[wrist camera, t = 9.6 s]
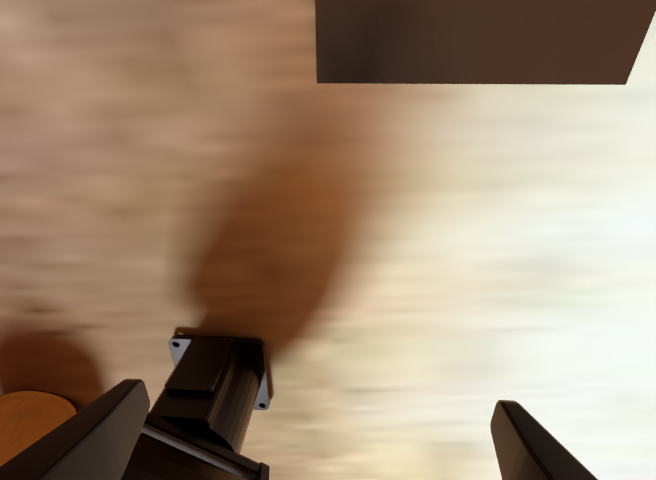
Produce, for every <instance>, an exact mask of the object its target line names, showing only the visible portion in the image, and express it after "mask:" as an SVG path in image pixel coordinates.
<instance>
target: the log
mask: <svg viewBox="0 0 656 480" xmlns="http://www.w3.org/2000/svg"><path fill="white" fill-rule="evenodd" d="M76 413H77V412H76V410H75V408H74V407H73V406H72V404H71V403H70V402H69V401H68V400H66V399H64V398H62V397H60V396H56V395H53V394H49V393H44V392H38V391H19V392H13V393H8V394H5V395H1V396H0V466H1V465H3V464H4V463H6V462H7V461H9V460H10V459H12V458H13V457H14V456H16V455H17V454H19V453H20V452H22V451H23V450H24V449H26V448H27V447H29V446H30V445H32V444H33V443H34V442H36V441H37V440H39V439H40V438H42V437H43V436H44V435H46V434H47V433H49V432H50V431H52V430H53V429H54V428H56V427H57V426H59V425H60V424H62V423H63V422H65V421H66V420H67V419H69V418H70V417H72V416H73V415H75V414H76Z"/></svg>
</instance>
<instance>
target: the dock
mask: <svg viewBox="0 0 656 480" xmlns="http://www.w3.org/2000/svg"><path fill="white" fill-rule="evenodd" d="M315 5H316V57H317V83H411V84H615V85H626V82H627V80H628V77H629V75H630V72H631V70H632V68H633V65H634V63H635V60H636V58H637V55H638V53H639V50H640V48H641V45H642V43H643V41H644V38H645V36H646V33H647V31H648V28H649V26H650V23H651V21H652V18H653V16H654V13H655V11H656V0H315Z"/></svg>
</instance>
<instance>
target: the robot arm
mask: <svg viewBox="0 0 656 480" xmlns="http://www.w3.org/2000/svg"><path fill="white" fill-rule="evenodd" d="M177 342H178V343H177ZM255 346H258V347H255ZM169 347H170V351H171V355H172V358H173V362H174V366H175V368H174V370H173V371H172V373H171V375H170V376H169V378H168V380H167V381H166V383H165V387H164V389H163V391H162V392H161V394H160V396H159V397H158V399H157V401H156V402H155V404H154V406H153V407H152V409H151V411H150V412H148V411H149V408H150V400H149V396H148V393H147V390H146V387H145V384H144V382H143V381H142V380H140V379H126V380H123V381H122V382H120V383H119V384H117V385H116V386H115V387H113V388H112V389H110V390H109V391H107V392H106V393H105V394H103V395H102V396H100V397H99V398H97V399H96V400H95V401H93V402H92V403H90V404H89V405H87V406H86V407H85V408H83V409H82V410H80V411H79V412H77V413H76V414H75V415H73V416H72V417H70V418H69V419H67V420H66V421H65V422H63V423H62V424H60V425H59V426H57V427H56V428H54V429H53V430H52V431H50V432H49V433H47V434H46V435H44V436H43V437H42V438H40V439H39V440H37V441H36V442H34V443H33V444H32V445H30V446H29V447H27V448H26V449H24V450H23V451H22V452H20V453H19V454H17V455H16V456H14V457H13V458H12V459H10V460H9V461H7V462H6V463H4V464H3V465H1V466H0V480H269V466H268V465H266V464H264V463H262V462H261V463H257V462H255V461H253V460H251V459H249V458H247V457H245V456H242V455H240V451H241V448H242V445H243V441H244V438H245V435H246V431H247V428H248V424H249V421H250V418H251V414H252V411H253V410H266V409H268V408H269V404H270V395H269V385H268V375H267V365H266V355H265V345H264V342H263V341H262V340H260V339H253V338H233V337H212V336H192V335H174V336H172V338H171V339H170V341H169ZM491 434H492V438H493V442H494V446H495V450H496V455H497V459H498V463H499V467H500V472H501V476H502V480H598V479H597V478H596V477H595V476H594V475H593V474H591V473H590V472H589V471H588V470H587V469H586V468H585V467H584V466H583V465H582V464H581V463H580V462H579V461H578V460H577V459H576V458H575V457H574V456H573V455H572V454H571V453H570V452H569V451H568V450H567V449H566V448H565V447H563V446H562V445H561V444H560V443H559V442H558V441H557V440H556V439H555V438H554V437H553V436H552V435H551V434H550V433H549V432H548V431H547V430H546V429H545V428H544V427H543V426H542V425H541V424H540V423H539V422H538V421H537V420H535V419H534V418H533V417H532V416H531V415H530V414H529V413H528V412H527V411H526V410H525V409H524V408H523V407H522V406H521V405H520V404H519V403H517V402H516V401H510V400H499V401H498V402H497V403H496V406H495V410H494V413H493V416H492V420H491Z"/></svg>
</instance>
